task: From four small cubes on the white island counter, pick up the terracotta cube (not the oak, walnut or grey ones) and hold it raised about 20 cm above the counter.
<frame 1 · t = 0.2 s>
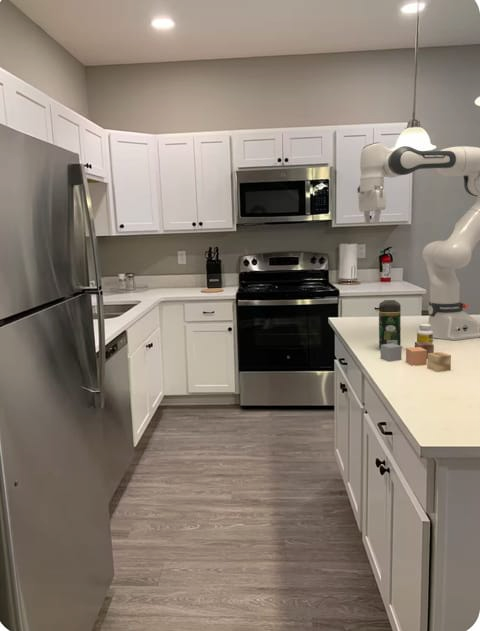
hand: (372, 222, 191), 48 cm above the countertop, tool pointing down, fingers open, 8 cm apart
terracotta cube: (416, 363, 165), on the countertop
oak cube: (438, 369, 157), on the countertop
walnut cube: (423, 357, 172), on the countertop
coffee jar: (389, 349, 185), on the countertop
grey cube: (390, 359, 171), on the countertop
supplement bottle: (424, 351, 180), on the countertop
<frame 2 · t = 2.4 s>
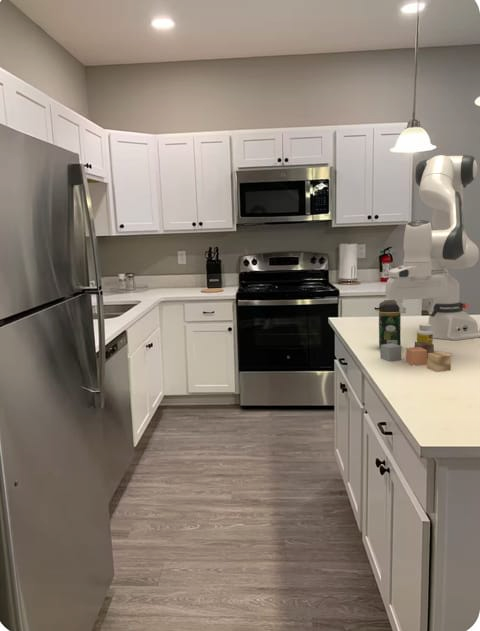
hand: (416, 312, 162), 18 cm above the countertop, tool pointing down, fingers open, 8 cm apart
nothing on the countertop moved.
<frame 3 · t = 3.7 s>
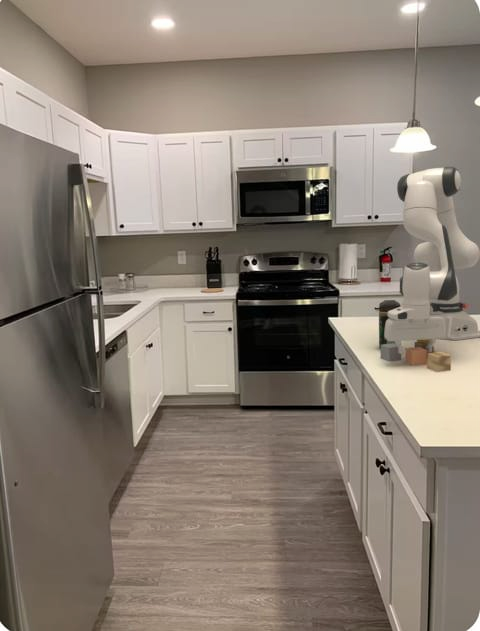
hand: (414, 352, 164), 4 cm above the countertop, tool pointing down, fingers open, 8 cm apart
nothing on the countertop moved.
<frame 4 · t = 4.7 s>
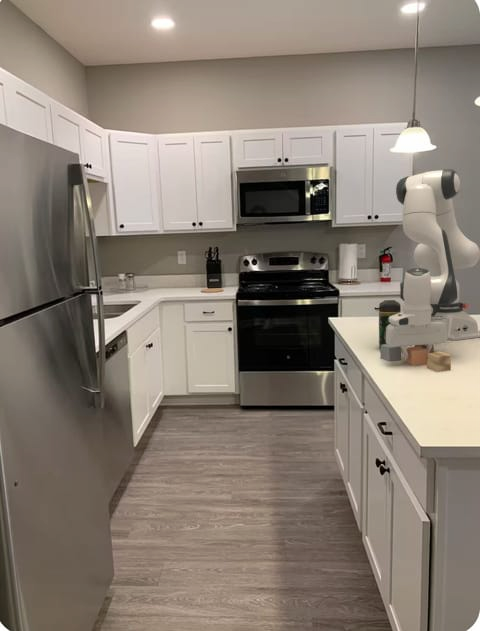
hand: (416, 357, 164), 2 cm above the countertop, tool pointing down, fingers closed on terracotta cube, 5 cm apart
terracotta cube: (416, 363, 165), on the countertop, touching gripper
everything else where it was.
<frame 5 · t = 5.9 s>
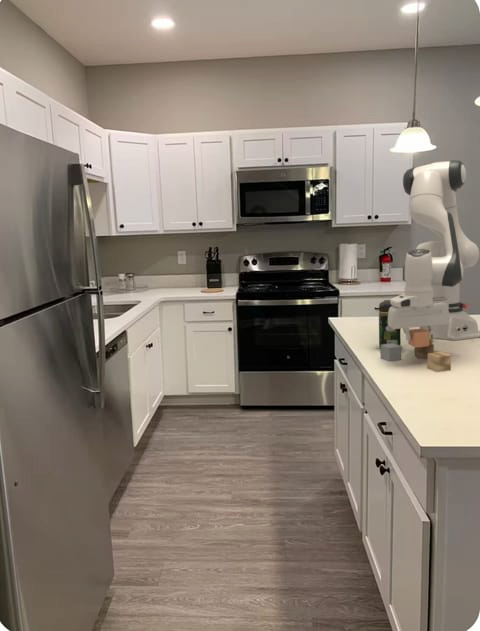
hand: (418, 339, 164), 8 cm above the countertop, tool pointing down, fingers closed on terracotta cube, 5 cm apart
terracotta cube: (418, 344, 164), point 6 cm above the countertop, touching gripper
everything else where it was.
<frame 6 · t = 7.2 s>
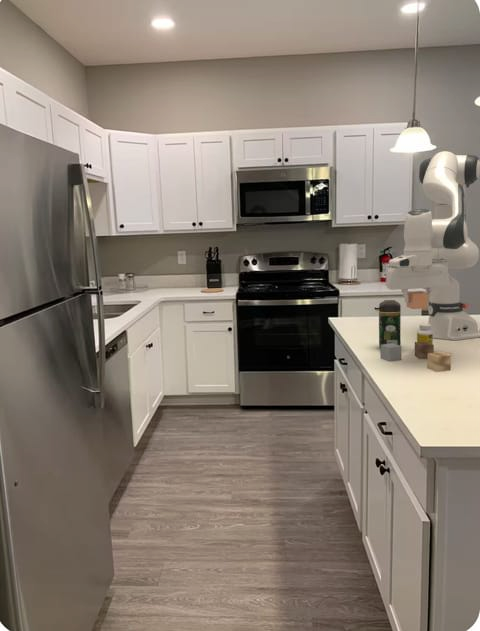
hand: (417, 301, 161), 21 cm above the countertop, tool pointing down, fingers closed on terracotta cube, 5 cm apart
terracotta cube: (417, 307, 161), point 19 cm above the countertop, touching gripper
everything else where it was.
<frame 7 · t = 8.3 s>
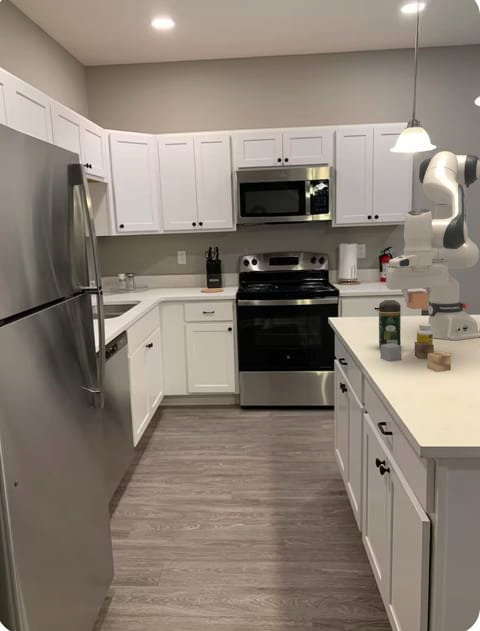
hand: (417, 301, 161), 21 cm above the countertop, tool pointing down, fingers closed on terracotta cube, 5 cm apart
terracotta cube: (417, 307, 161), point 19 cm above the countertop, touching gripper
everything else where it was.
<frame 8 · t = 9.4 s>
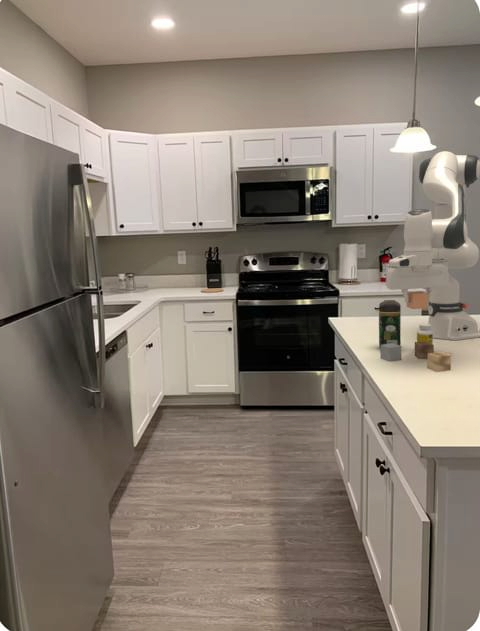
hand: (417, 301, 161), 21 cm above the countertop, tool pointing down, fingers closed on terracotta cube, 5 cm apart
terracotta cube: (417, 307, 161), point 19 cm above the countertop, touching gripper
everything else where it was.
at the end: the gripper is holding terracotta cube; terracotta cube point 19.1 cm above the countertop; oak cube moved 0.1 cm from its start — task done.
